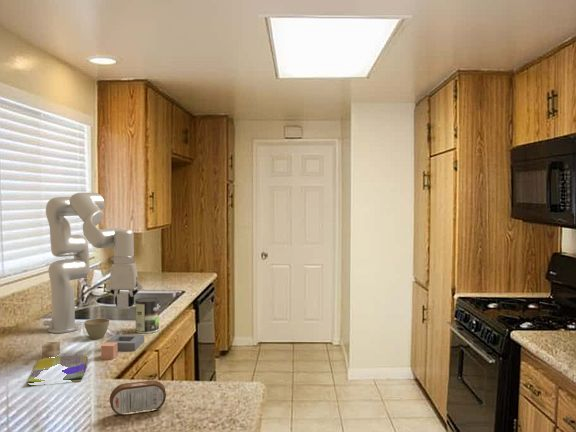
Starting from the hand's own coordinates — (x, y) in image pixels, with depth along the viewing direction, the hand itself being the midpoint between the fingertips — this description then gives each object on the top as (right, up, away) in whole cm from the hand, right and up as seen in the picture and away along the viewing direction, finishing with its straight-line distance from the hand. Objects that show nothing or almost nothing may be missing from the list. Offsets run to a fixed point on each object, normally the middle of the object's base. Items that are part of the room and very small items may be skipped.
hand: (124, 305), depth 201 cm
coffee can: (+2, -16, +25) cm, 29 cm away
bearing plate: (0, -16, +1) cm, 16 cm away
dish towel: (-13, -18, -29) cm, 37 cm away
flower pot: (-16, -16, +13) cm, 26 cm away
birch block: (-23, -17, -13) cm, 32 cm away
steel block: (0, -1, 0) cm, 1 cm away
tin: (+24, -19, -62) cm, 69 cm away
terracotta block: (-1, -17, -13) cm, 22 cm away
